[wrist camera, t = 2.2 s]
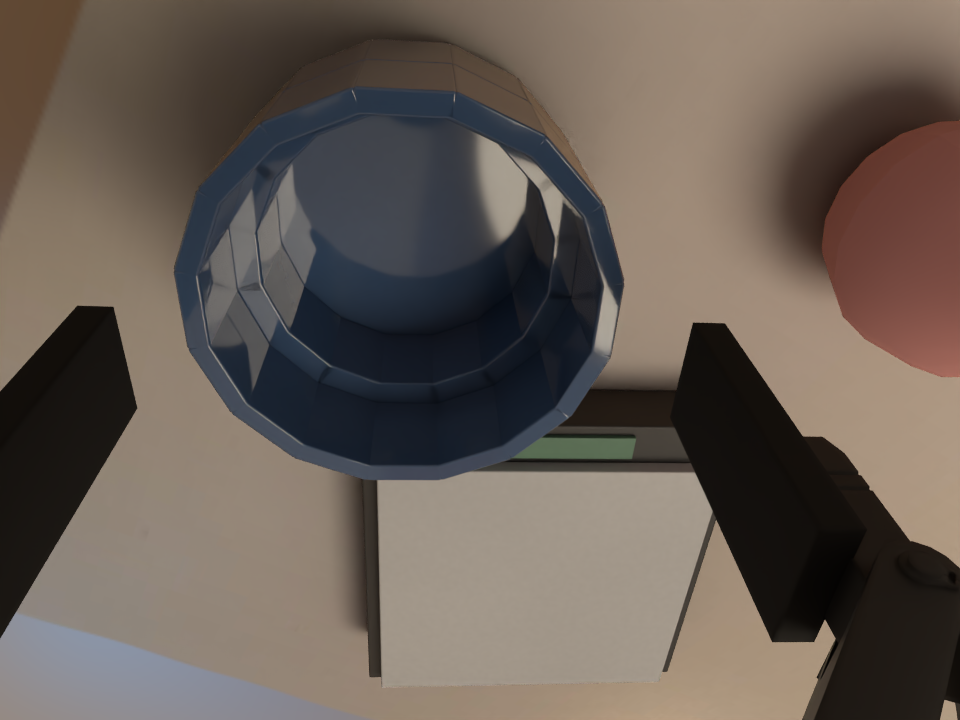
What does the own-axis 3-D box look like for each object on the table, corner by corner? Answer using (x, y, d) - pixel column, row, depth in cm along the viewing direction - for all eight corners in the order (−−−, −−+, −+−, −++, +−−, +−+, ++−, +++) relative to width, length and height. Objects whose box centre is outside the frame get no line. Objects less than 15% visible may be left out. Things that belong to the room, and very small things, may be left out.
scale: (364, 386, 28) (358, 434, 26) (724, 391, 29) (752, 437, 27) (372, 634, 36) (368, 689, 34) (654, 630, 37) (670, 683, 35)
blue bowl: (218, 26, 21) (136, 75, 15) (596, 46, 22) (658, 100, 16) (258, 353, 27) (210, 480, 21) (554, 358, 28) (588, 481, 22)
